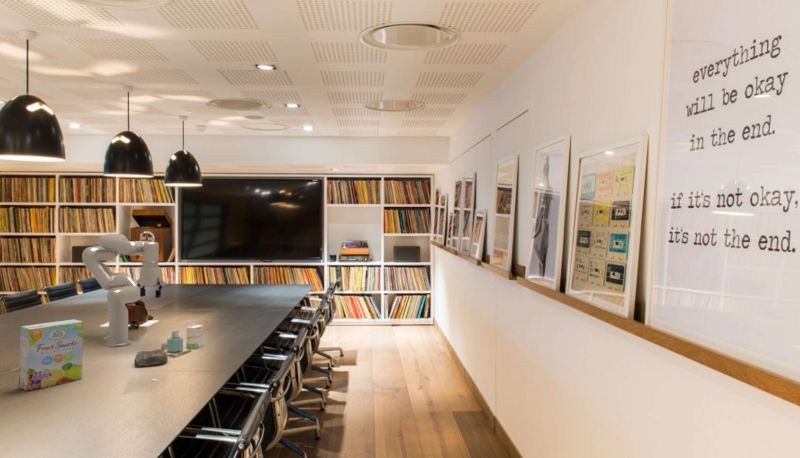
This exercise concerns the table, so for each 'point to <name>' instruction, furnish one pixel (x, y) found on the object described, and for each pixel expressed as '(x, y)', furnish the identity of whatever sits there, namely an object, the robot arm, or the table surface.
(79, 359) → the snack box
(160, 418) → the table surface
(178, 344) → the ring
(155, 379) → the paper
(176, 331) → the board
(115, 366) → the table surface
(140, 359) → the rock
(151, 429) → the table surface
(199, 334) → the ink box
